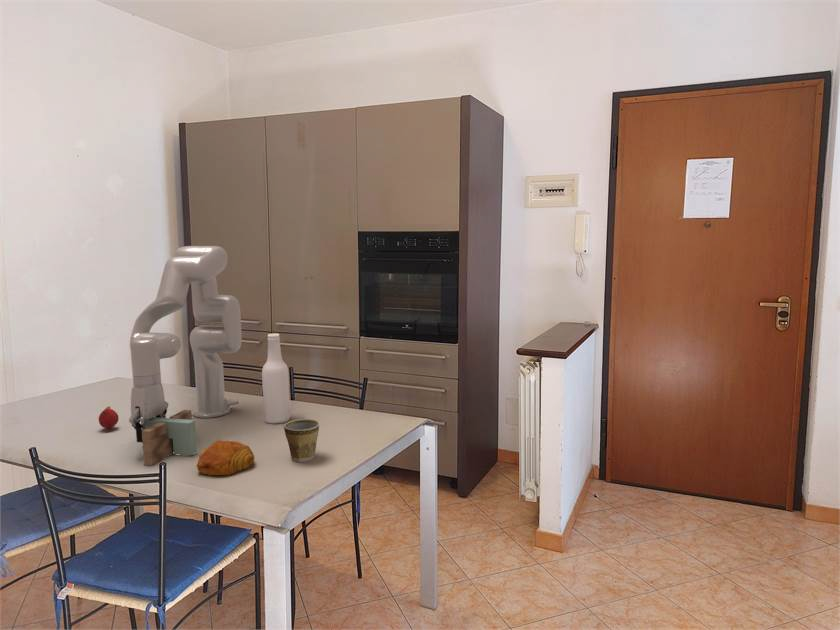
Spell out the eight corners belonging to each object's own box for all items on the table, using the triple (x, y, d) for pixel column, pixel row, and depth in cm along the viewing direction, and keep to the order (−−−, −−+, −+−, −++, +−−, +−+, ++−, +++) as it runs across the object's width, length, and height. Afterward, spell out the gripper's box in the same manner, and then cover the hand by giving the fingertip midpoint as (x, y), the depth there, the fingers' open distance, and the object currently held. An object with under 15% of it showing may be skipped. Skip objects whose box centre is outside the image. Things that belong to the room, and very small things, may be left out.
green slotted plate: (143, 452, 184) (140, 419, 182) (149, 448, 186) (147, 416, 185) (191, 456, 180) (189, 423, 178) (197, 452, 183) (195, 420, 181)
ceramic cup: (322, 462, 175) (321, 428, 173) (286, 466, 172) (285, 431, 171) (316, 446, 187) (315, 414, 186) (283, 450, 184) (281, 417, 183)
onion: (111, 433, 201) (109, 409, 199) (95, 432, 202) (93, 408, 201) (123, 427, 206) (121, 404, 205) (107, 426, 207) (105, 403, 206)
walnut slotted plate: (186, 440, 193) (184, 409, 191) (193, 441, 192) (191, 410, 191) (144, 465, 174) (141, 430, 172) (152, 465, 173) (149, 431, 172)
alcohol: (263, 417, 215) (259, 333, 211) (288, 415, 218) (285, 331, 213) (265, 425, 207) (261, 337, 203) (291, 422, 210) (288, 335, 205)
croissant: (221, 461, 182) (217, 435, 181) (264, 462, 175) (260, 435, 175) (184, 479, 169) (180, 450, 168) (229, 480, 162) (224, 451, 162)
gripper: (154, 372, 190) (158, 427, 193) (115, 386, 174) (120, 446, 176) (176, 373, 189) (180, 428, 191) (138, 388, 172) (143, 448, 175)
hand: (151, 436), depth 184 cm, fingers open, 7 cm apart
